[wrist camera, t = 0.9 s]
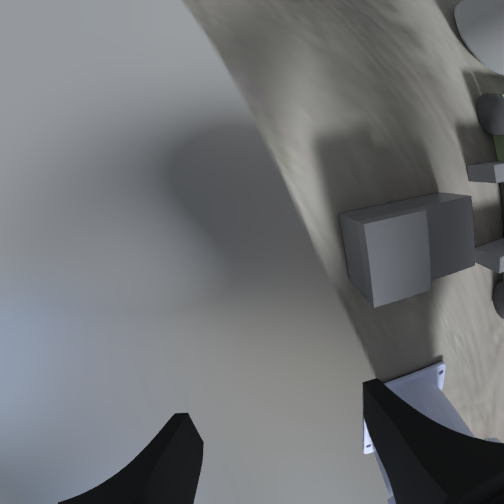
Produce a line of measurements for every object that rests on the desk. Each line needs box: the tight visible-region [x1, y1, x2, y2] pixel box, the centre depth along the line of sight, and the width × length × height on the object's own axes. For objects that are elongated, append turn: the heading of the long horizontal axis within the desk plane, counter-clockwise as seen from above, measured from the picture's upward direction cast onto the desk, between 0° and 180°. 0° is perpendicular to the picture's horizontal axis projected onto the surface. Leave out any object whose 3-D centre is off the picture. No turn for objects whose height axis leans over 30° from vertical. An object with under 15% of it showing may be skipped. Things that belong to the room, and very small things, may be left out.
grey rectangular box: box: [339, 192, 475, 308], centre depth 16 cm, size 4×8×5 cm, turn 104°
